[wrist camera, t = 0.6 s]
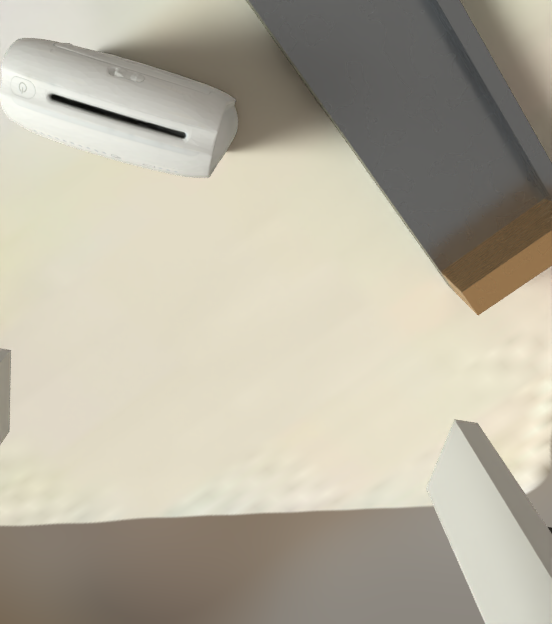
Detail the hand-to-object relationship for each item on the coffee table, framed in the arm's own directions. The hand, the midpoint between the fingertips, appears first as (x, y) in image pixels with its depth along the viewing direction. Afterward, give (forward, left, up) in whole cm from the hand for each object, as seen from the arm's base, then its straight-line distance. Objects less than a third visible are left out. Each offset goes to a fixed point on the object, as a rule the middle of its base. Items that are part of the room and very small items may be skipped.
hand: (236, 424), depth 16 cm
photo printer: (-10, +1, -23) cm, 25 cm away
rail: (-4, +13, -23) cm, 26 cm away
